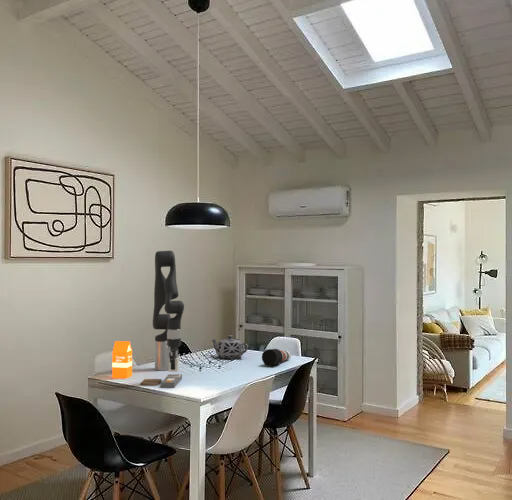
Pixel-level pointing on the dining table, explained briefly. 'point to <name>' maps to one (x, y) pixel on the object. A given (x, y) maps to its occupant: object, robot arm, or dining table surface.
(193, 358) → the dining table surface
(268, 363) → the dark cylindrical piece
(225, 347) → the teapot
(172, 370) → the plug
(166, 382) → the grey panel with rod
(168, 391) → the dining table surface
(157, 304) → the robot arm
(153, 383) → the walnut board
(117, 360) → the orange juice
